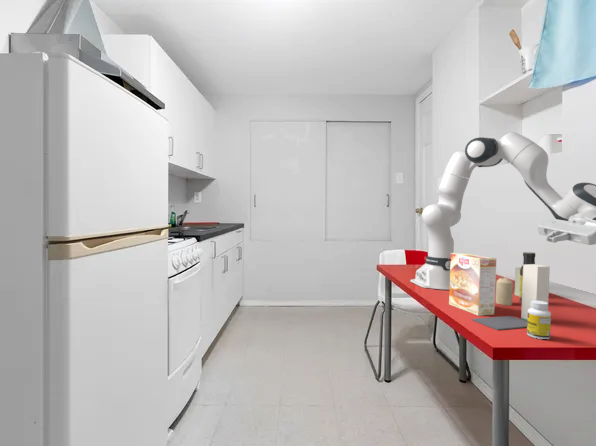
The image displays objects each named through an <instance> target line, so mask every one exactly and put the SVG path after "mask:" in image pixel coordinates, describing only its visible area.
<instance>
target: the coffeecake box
mask: <svg viewBox="0 0 596 446" xmlns="http://www.w3.org/2000/svg"><path fill="white" fill-rule="evenodd" d="M496 277H497V257H495V258H494V257H489V256H483V255H478V254H473V253H472V254H471V253H465V252H462V253H461V252H460V253H459V252H453V253H451V263H450V290H449V295H448V297H449V299H448V305H450V306H452V307H454V308H457V309H460V310H462V311H464V312H467V313H470V314H473V315H475V316H478V317H479V316H480V317H481V316H483V317H484V316H494V315H495V306H496V305H495V304H496V281H497V279H496Z"/></svg>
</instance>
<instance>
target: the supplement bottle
mask: <svg viewBox="0 0 596 446" xmlns="http://www.w3.org/2000/svg"><path fill="white" fill-rule="evenodd" d="M531 306H532V308H530V309H528V318H527V328H526V335H528V337H531V338H532V339H536V338H537V340H542V339H547V340H549V339H550V338H551V322H552V313H551V311H550V310H549V302H548V303H547V302H544V301H537V300H533V301H531ZM547 309H548V310H547Z"/></svg>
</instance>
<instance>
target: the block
mask: <svg viewBox="0 0 596 446" xmlns="http://www.w3.org/2000/svg"><path fill="white" fill-rule="evenodd" d="M522 265H523V264H522ZM550 269H551V268H550V265H549V266H548V265H543V264H537V263H535V264H525V265H523V286H522V303H521V310H520V311H521V313H520V316H521V317H520V319H522V320H525V321H527V318H528V309H530V308H532V306H531V301H533V300H537V301H544V302H547V303H548V304H549V295H550V291H549V289H550V272H551V270H550ZM547 310H548V311H549V308H548V309H547Z"/></svg>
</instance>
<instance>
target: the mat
mask: <svg viewBox="0 0 596 446" xmlns="http://www.w3.org/2000/svg"><path fill="white" fill-rule="evenodd" d="M471 321H473V322H476V323H478V324H480V325H483V326H485V327H488V328H491V329H494V330H497V331H503V330H504V331H505V330H514V329H525V328H526V329H527V321H526V320H523V319H521V318H519V317H516V316H512V315H506V316H492V317H491V316H490V317H479V318H478V317H477V318H471Z"/></svg>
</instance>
